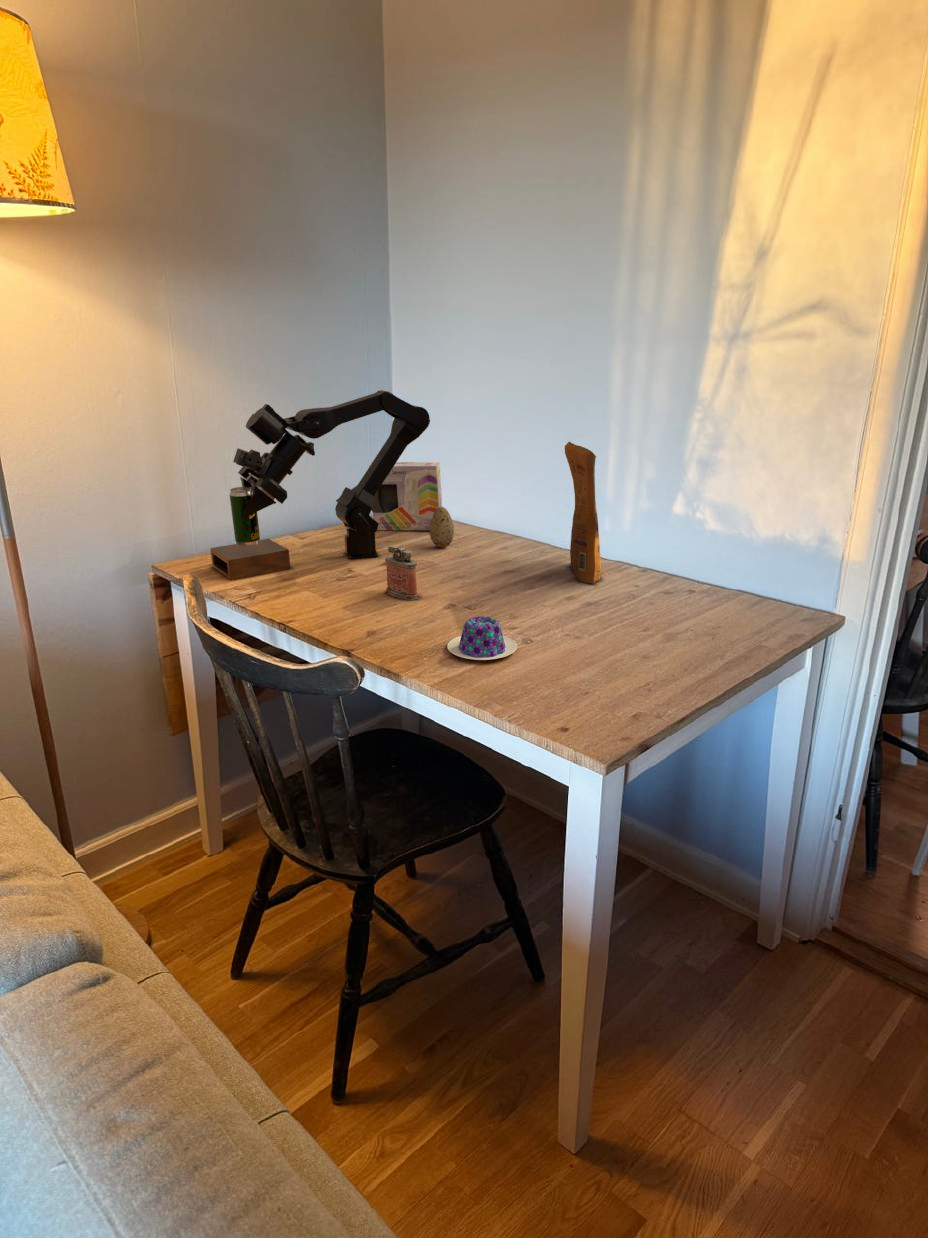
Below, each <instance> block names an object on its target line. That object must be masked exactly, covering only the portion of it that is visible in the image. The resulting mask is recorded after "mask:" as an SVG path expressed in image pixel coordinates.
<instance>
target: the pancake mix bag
mask: <svg viewBox="0 0 928 1238" xmlns="http://www.w3.org/2000/svg"><path fill="white" fill-rule="evenodd" d="M564 455H565V457H566V461H567V464H568V467H569V471H570V475H571V478H572V483H573V492H574V510H573V515H572V522H571V523H572V524H571V532H570V534H571V535H570V545H569V546H570V547H569V548H570V549H569V556H570V557H569V558H570V567H571V570H572V571H573V573H574V574H575V576H576V578H577V579H578V581H580V582H582V583H587V584H594V585H595V582H598V581H600V579H601V574H602V573H601V572H602V560H601V544H600V532H599V530H600V529H599V520H598V519H599V518H598V509H597V502H596V501H597V500H596V473H595V472H596V470H595V469H596V467H595V466H596V460H597V455H596V454H595V453H594V452H593V451H592V450H590V449H588V448H586V447H584V446H581V445H577V444H575V443H572V442H571V441H568V442H566V444H565V445H564Z"/></svg>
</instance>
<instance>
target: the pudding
mask: <svg viewBox="0 0 928 1238" xmlns="http://www.w3.org/2000/svg"><path fill="white" fill-rule="evenodd" d="M446 645H447V646H446V647H447V650H448V651H449V653H451V654H452V655H455V656H456V657H460V658H462V659H467V660H475V661H487V660H488V661H489V660H497V659H501V658H505V657H508V656H510V655H512V654H513V653H514V652H516V651H517V649H518V644H517V642H516V641H515V640H514V639H513V638H511V637H508V636H506V635H503V631H502V627H501V624H500V622H499V620H498V619H496V618H494V617H491V616H484V615H483V616H481V615H480V616H475V617H474V616H473V617H470V618H469V619H468V620H465V622H464V624H463V628H462V631H461V635H459V636H456V637H454V638H452V639H451V640H450V641H449V642H448V644H446Z"/></svg>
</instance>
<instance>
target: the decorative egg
mask: <svg viewBox="0 0 928 1238" xmlns="http://www.w3.org/2000/svg"><path fill="white" fill-rule="evenodd" d="M454 536H455V527H454V522H453V519H452V517H451V514H450V512H449V511H448V510H447V509H446V507H444V506H442V507H439V508H438V509H437V510H436V511H435V512H434V514H433V517H432V520H431V524H430V530H429V537H430V540H431V542H432V543H433V544H434V546H436V547H438V548H446V547H448V546H449V545H450V544H451V543H452V542H453V541H454V540H453V539H454Z"/></svg>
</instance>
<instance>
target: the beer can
mask: <svg viewBox="0 0 928 1238" xmlns="http://www.w3.org/2000/svg"><path fill="white" fill-rule="evenodd" d="M251 495H252V487H242V486H237V487H232V488H230V489H229V495H228V496H229V502H230V510H231V518H232V526H233V534H234V540H235V541H234V542H235V544H238V545H243V546H247V545H254V544H257V543H259V541H260V540H261V533H260V525H259V516H258V512H256V513H254V514H252V515H250V516H248V517H246V518H242V517H241V516H240V514H241V512H242V510H243V509H244V507H245V505H246V503H247V502H248V500H249V498H250V497H251Z"/></svg>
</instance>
